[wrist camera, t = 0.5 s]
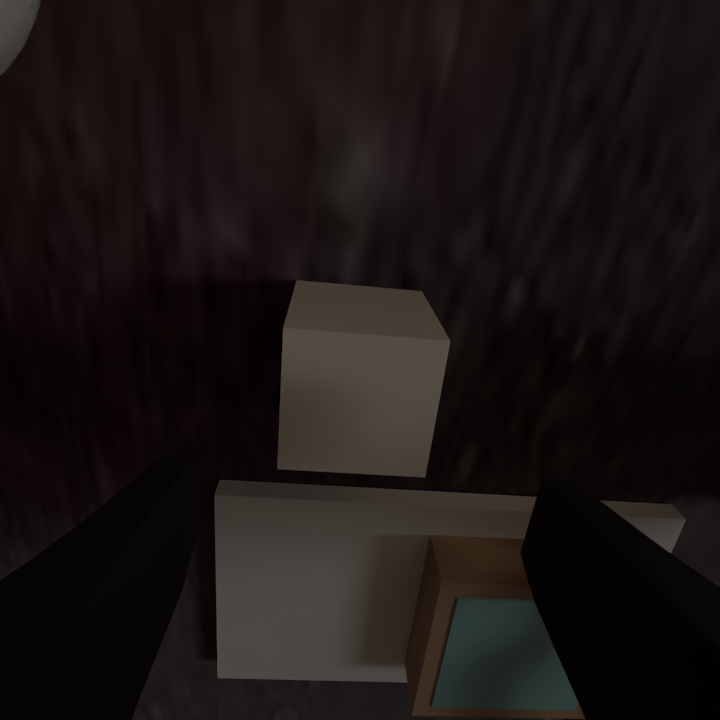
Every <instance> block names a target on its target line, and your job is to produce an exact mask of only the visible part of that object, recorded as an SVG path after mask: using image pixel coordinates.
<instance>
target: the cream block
mask: <svg viewBox="0 0 720 720" xmlns="http://www.w3.org/2000/svg"><path fill="white" fill-rule="evenodd" d="M449 346H450V339H449V338H448V336H447V334H446V333H445V331H444V329H443V327H442V326H441V324H440V322H439V320H438V319H437V317H436V315H435V313H434V312H433V310H432V308H431V307H430V305H429V303H428V301H427V300H426V298H425V296H424V294H423V293H422V291H413V290H401V289H390V288H378V287H367V286H356V285H344V284H333V283H321V282H310V281H298V280H297V281H296V284H295V288H294V291H293V295H292V298H291V302H290V305H289V309H288V313H287V316H286V320H285V323H284V327H283V344H282V367H281V391H280V414H279V438H278V461H277V469H284V470H301V471H319V472H337V473H355V474H372V475H390V476H408V477H425V476H426V470H427V465H428V460H429V454H430V449H431V443H432V438H433V432H434V427H435V422H436V416H437V411H438V405H439V400H440V394H441V389H442V384H443V378H444V373H445V367H446V362H447V357H448V351H449Z"/></svg>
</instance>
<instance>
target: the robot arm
mask: <svg viewBox="0 0 720 720" xmlns="http://www.w3.org/2000/svg"><path fill="white" fill-rule="evenodd" d="M195 540H196V526H195V499H194V472H193V458H179V457H161V458H159V459H158V460H157V461H156V462H154V463H153V464H152V465H151V466H149V467H148V468H147V469H146V470H144V471H143V472H142V473H141V474H140V475H139V476H137V477H136V478H135V479H134V480H133V481H131V482H130V483H129V484H128V485H127V486H125V487H124V488H123V489H122V490H121V491H119V492H118V493H117V494H116V495H115V496H113V497H112V498H111V499H110V500H109V501H107V502H106V503H105V504H104V505H102V506H101V507H100V508H99V509H97V510H96V511H95V512H94V513H92V514H91V515H90V516H89V517H87V518H86V519H85V520H84V521H82V522H81V523H80V524H79V525H77V526H76V527H75V528H73V529H72V530H71V531H69V532H68V533H67V534H65V535H64V536H63V537H61V538H60V539H59V540H57V541H56V542H54V543H53V544H52V545H50V546H49V547H48V548H46V549H45V550H44V551H42V552H41V553H40V554H38V555H37V556H35V557H34V558H33V559H31V560H30V561H28V562H27V563H25V564H24V565H23V566H21V567H20V568H18V569H17V570H15V571H14V572H12V573H11V574H9V575H8V576H6V577H5V578H3V579H2V580H0V720H131V719H132V717H133V714H134V711H135V708H136V705H137V703H138V700H139V698H140V695H141V693H142V690H143V688H144V685H145V683H146V680H147V678H148V675H149V673H150V670H151V668H152V665H153V662H154V660H155V657H156V655H157V652H158V650H159V647H160V645H161V642H162V640H163V637H164V635H165V632H166V630H167V627H168V625H169V622H170V620H171V617H172V614H173V612H174V609H175V607H176V604H177V602H178V599H179V596H180V594H181V591H182V589H183V585H184V582H185V578H186V575H187V571H188V567H189V564H190V560H191V556H192V552H193V548H194V544H195ZM520 554H521V558H522V561H523V565H524V569H525V572H526V576H527V579H528V583H529V586H530V589H531V592H532V596H533V599H534V602H535V604H536V606H537V609H538V611H539V614H540V616H541V618H542V621H543V623H544V625H545V628H546V630H547V632H548V635H549V637H550V639H551V642H552V644H553V646H554V648H555V651H556V653H557V655H558V657H559V660H560V662H561V664H562V667H563V669H564V671H565V673H566V676H567V678H568V680H569V683H570V685H571V687H572V689H573V692H574V694H575V696H576V698H577V701H578V703H579V705H580V708H581V710H582V712H583V715H584V717H585V720H720V587H718V586H717V585H715V584H714V583H712V582H711V581H709V580H708V579H706V578H705V577H703V576H702V575H701V574H699V573H698V572H696V571H695V570H693V569H692V568H690V567H689V566H688V565H686V564H685V563H683V562H682V561H681V560H679V559H678V558H676V557H675V556H674V555H672V554H671V553H669V552H668V551H667V550H665V549H664V548H663V547H661V546H660V545H658V544H657V543H656V542H654V541H653V540H652V539H650V538H649V537H648V536H646V535H645V534H644V533H642V532H641V531H640V530H638V529H637V528H636V527H634V526H633V525H632V524H630V523H629V522H628V521H626V520H625V519H624V518H622V517H621V516H620V515H619V514H617V513H616V512H615V511H613V510H612V509H611V508H609V507H608V506H607V505H605V504H604V503H603V502H601V501H600V500H599V499H597V498H596V497H595V496H593V495H592V494H590V493H589V492H588V491H586V490H585V489H583V488H582V487H581V486H579V485H578V484H576V483H574V482H573V481H571V480H565V479H548V478H542V481H541V484H540V488H539V491H538V494H537V498H536V501H535V504H534V508H533V511H532V515H531V518H530V521H529V525H528V528H527V531H526V535H525V538H524V542H523V545H522V548H521V552H520Z"/></svg>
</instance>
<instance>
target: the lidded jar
mask: <svg viewBox="0 0 720 720" xmlns="http://www.w3.org/2000/svg"><path fill="white" fill-rule="evenodd" d="M40 1H41V0H0V76H1V75H2V74H3V73H4V72H5V71H6V70H7V69H8V68H9V67H10V65H11V64H12V63H13V61H14V60H15V58H16V57H17V55H18V54H19V52H20V51H21V50H22V48H23V47H24V45H25V43H26V41H27V38H28V36H29V34H30V32H31V29H32V27H33V25H34V22H35V20H36V17H37V13H38V9H39V5H40Z"/></svg>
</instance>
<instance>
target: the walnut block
mask: <svg viewBox="0 0 720 720" xmlns="http://www.w3.org/2000/svg"><path fill="white" fill-rule="evenodd" d="M523 542H524V539H510V538H489V537H467V536H446V535H430V538H429V543H428V548H427V553H426V558H425V563H424V568H423V573H422V578H421V583H420V588H419V593H418V598H417V603H416V608H415V613H414V618H413V623H412V628H411V633H410V638H409V643H408V648H407V653H406V658H405V668H406V676H407V684H408V691H409V699H410V706H411V714H412V716H455V717H511V718H567V719H585V717H584V715H583V712H582V710H581V708H580V705H579V703H578V701H577V698H576V696H575V694H574V692H573V689H572V687H571V685H570V683H569V680H568V678H567V676H566V673H565V671H564V669H563V667H562V664H561V662H560V660H559V657H558V655H557V653H556V651H555V648H554V646H553V644H552V642H551V639H550V637H549V635H548V632H547V630H546V628H545V625H544V623H543V621H542V618H541V616H540V614H539V611H538V609H537V606H536V604H535V602H534V599H533V596H532V592H531V589H530V586H529V583H528V579H527V576H526V572H525V569H524V565H523V561H522V558H521V554H520V552H521V548H522V545H523Z"/></svg>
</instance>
